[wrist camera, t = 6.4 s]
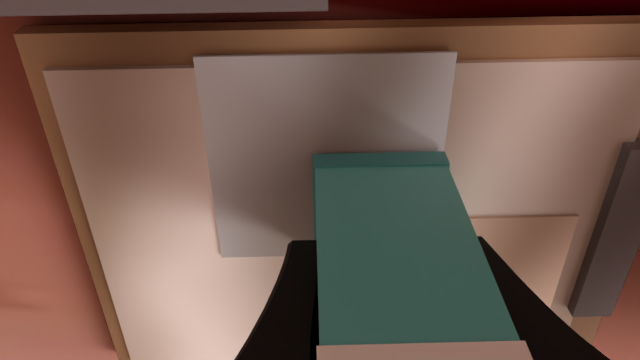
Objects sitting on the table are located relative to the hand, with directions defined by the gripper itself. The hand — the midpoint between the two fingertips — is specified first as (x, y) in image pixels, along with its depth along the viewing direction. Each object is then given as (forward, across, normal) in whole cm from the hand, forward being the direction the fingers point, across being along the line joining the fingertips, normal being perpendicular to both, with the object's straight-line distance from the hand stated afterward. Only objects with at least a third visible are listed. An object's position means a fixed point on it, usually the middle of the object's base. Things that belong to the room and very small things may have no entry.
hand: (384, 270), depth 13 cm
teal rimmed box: (+2, 0, 0) cm, 2 cm away
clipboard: (+3, 0, +1) cm, 3 cm away
